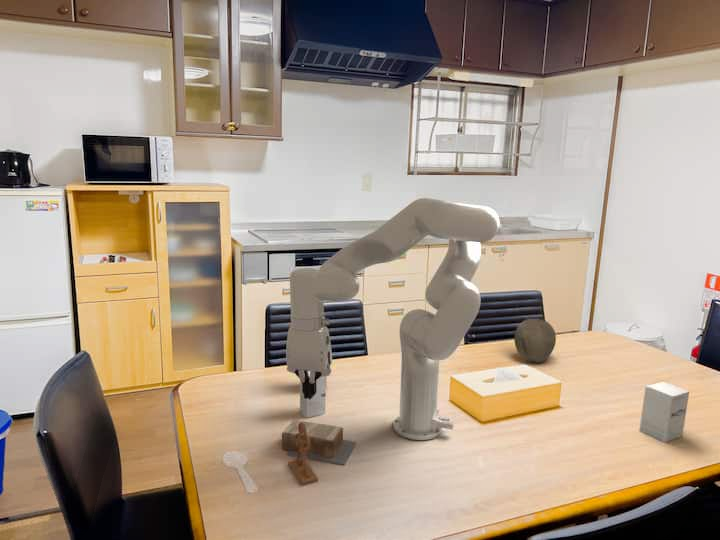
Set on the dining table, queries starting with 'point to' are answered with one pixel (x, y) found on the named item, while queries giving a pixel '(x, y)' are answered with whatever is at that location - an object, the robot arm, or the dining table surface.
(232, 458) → the spoon
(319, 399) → the skincare box
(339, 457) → the rubber mat
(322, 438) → the walnut box
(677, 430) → the supplement box
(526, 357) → the cantaloupe
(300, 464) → the wooden figurine
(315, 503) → the dining table surface
